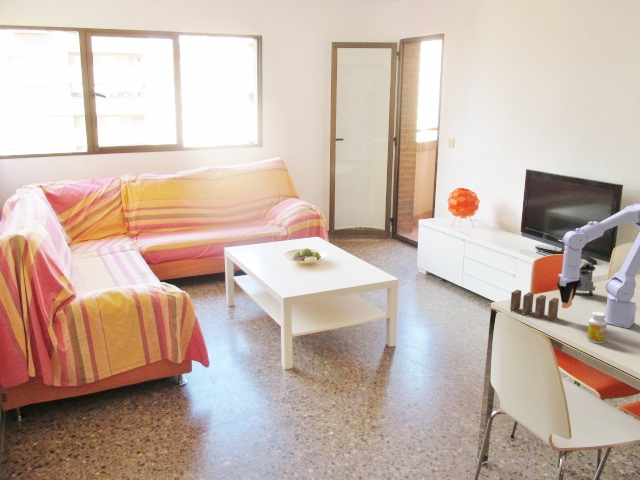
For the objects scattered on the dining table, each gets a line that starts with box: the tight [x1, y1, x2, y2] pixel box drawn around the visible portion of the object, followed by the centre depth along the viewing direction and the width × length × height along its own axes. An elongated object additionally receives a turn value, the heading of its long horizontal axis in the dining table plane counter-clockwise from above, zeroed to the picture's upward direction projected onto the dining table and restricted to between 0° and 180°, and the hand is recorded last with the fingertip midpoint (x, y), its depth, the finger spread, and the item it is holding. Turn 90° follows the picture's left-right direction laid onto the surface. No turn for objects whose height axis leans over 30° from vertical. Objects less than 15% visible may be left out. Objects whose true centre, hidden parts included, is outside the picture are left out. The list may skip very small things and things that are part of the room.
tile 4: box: [521, 291, 535, 315], centre depth 229 cm, size 2×5×8 cm, turn 139°
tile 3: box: [534, 294, 547, 319], centre depth 226 cm, size 2×5×8 cm, turn 139°
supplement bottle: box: [586, 311, 607, 344], centre depth 203 cm, size 5×5×10 cm
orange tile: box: [561, 290, 573, 310], centre depth 219 cm, size 2×5×8 cm, turn 139°
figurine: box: [576, 258, 596, 297], centre depth 250 cm, size 9×12×15 cm
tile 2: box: [546, 297, 560, 322], centre depth 223 cm, size 2×5×8 cm, turn 139°
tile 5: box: [509, 289, 522, 312], centre depth 232 cm, size 2×5×8 cm, turn 139°
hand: (567, 300), depth 219 cm, fingers closed on orange tile, 5 cm apart
